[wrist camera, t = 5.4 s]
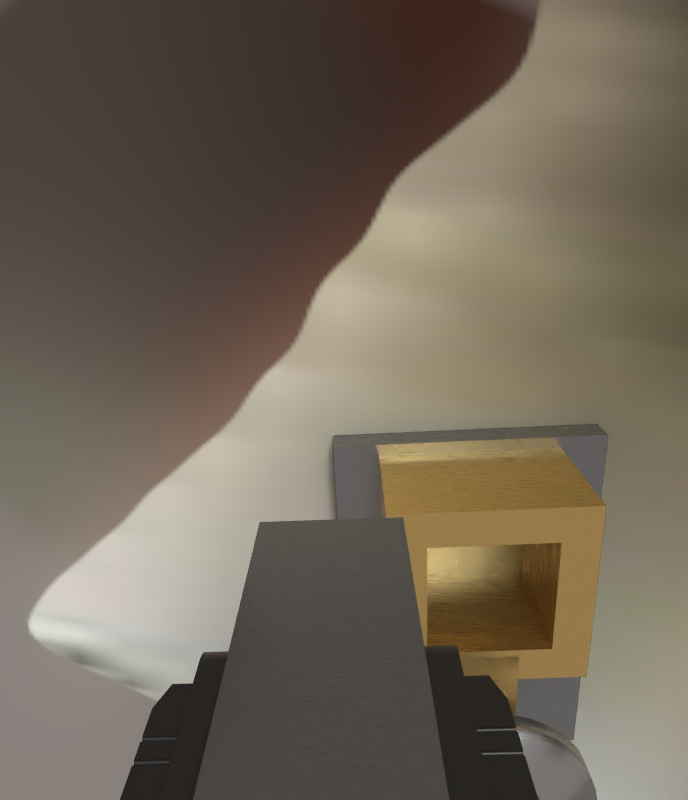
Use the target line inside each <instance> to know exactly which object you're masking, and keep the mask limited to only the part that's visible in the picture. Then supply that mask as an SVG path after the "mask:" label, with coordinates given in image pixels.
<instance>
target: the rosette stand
mask: <svg viewBox="0 0 688 800" xmlns="http://www.w3.org/2000/svg"><path fill="white" fill-rule="evenodd" d="M607 440H608V434H607V433H606V432H605V431H604V430H603V429H602V428H601V427H600V426H599V425H598V424H590V425H567V426H544V427H521V428H499V429H476V430H453V431H430V432H407V433H384V434H361V435H339V436H334V440H333V452H334V468H335V485H336V502H337V518H338V520H340V519H369V518H398V517H403V519H404V525H405V531H406V537H407V544H408V550H409V556H410V562H411V568H412V574H413V580H414V586H415V592H416V599H417V605H418V611H419V617H420V623H421V629H422V635H423V641H424V646H440V645H456V646H457V648H458V651H459V655H460V660H461V664H462V668H463V673H464V676H480V675H489V676H490V677H491V679H492V680H493V681H494V682H495V684H496V685H497V686H498V687H499V688H500V690H501V691H502V692H503V693H504V695H505V696H506V697H507V698H508V701H509V704H510V708H511V711H512V714H513V718H514V721H515V724H516V730H517V732H518V734H519V737H520V741H521V744H522V747H523V753H524V756H525V757H526V760H527V764H528V767H529V770H530V774H531V777H532V780H533V784H534V787H535V790H536V793H537V797H538V800H597V796H596V790H595V787H594V784H593V781H592V779H591V776H590V774H589V771H588V769H587V766H586V764H585V762H584V759H583V757H582V756H581V754H580V752H579V750H578V749H577V748H576V747H575V746H574V744H573V743H572V742H571V741H570V740H573V739H574V731H575V722H576V713H577V704H578V695H579V687H580V678H581V677H586V676H587V667H588V659H589V650H590V642H591V633H592V625H593V616H594V608H595V599H596V591H597V582H598V574H599V565H600V557H601V548H602V540H603V531H604V523H605V514H606V505H605V503H604V502H603V501H602V499H601V493H602V484H603V475H604V466H605V457H606V448H607Z"/></svg>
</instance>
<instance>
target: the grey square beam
mask: <svg viewBox="0 0 688 800" xmlns="http://www.w3.org/2000/svg"><path fill="white" fill-rule="evenodd" d="M193 800H449V795H448V788H447V782H446V776H445V770H444V764H443V758H442V752H441V746H440V739H439V733H438V727H437V721H436V715H435V709H434V703H433V697H432V690H431V684H430V678H429V672H428V666H427V660H426V654H425V648H424V641H423V635H422V629H421V623H420V617H419V611H418V605H417V599H416V592H415V586H414V580H413V574H412V568H411V562H410V556H409V550H408V544H407V537H406V531H405V525H404V519H403V517H398V518H369V519H340V520H311V521H281V522H260V524H259V528H258V532H257V536H256V540H255V544H254V548H253V553H252V557H251V561H250V565H249V569H248V573H247V577H246V582H245V586H244V590H243V594H242V598H241V602H240V606H239V611H238V615H237V619H236V623H235V627H234V631H233V635H232V640H231V644H230V648H229V652H228V656H227V660H226V665H225V669H224V673H223V677H222V681H221V685H220V689H219V694H218V698H217V702H216V706H215V710H214V714H213V718H212V723H211V727H210V731H209V735H208V739H207V743H206V747H205V752H204V756H203V760H202V764H201V768H200V772H199V776H198V781H197V785H196V789H195V793H194V797H193Z"/></svg>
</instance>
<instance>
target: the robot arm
mask: <svg viewBox="0 0 688 800" xmlns="http://www.w3.org/2000/svg"><path fill="white" fill-rule="evenodd" d="M424 648H425V654H426V660H427V666H428V672H429V678H430V684H431V690H432V697H433V703H434V709H435V715H436V721H437V727H438V733H439V739H440V746H441V752H442V758H443V764H444V770H445V776H446V782H447V788H448V795H449V800H538V797H537V793H536V790H535V787H534V784H533V780H532V777H531V774H530V770H529V767H528V764H527V760H526V757H525V756H524V753H523V747H522V744H521V741H520V737H519V734H518V732H517V730H516V724H515V721H514V718H513V714H512V711H511V708H510V704H509V701H508V698H507V697H506V696H505V695H504V693H503V692H502V691H501V690H500V688H499V687H498V686H497V685H496V684H495V682H494V681H493V680H492V679H491V677H490V676H489V675H480V676H464V673H463V668H462V664H461V660H460V655H459V651H458V648H457V646H456V645H440V646H424ZM227 656H228V652H204V653H203V654H202V656H201V658H200V661H199V665H198V668H197V671H196V675H195V678H194V682H193V684H172V685H171V686H170V688H169V689H168V690H167V691H166V693H165V694H164V695H163V696H162V697H161V699H160V700H159V701H158V702H157V703H156V705H155V706H154V707H153V708H152V711H151V714H150V717H149V720H148V723H147V725H146V728H145V731H144V734H143V739H142V742H140V745H139V748H138V751H137V753H136V756H135V759H134V766H132V767H131V770H130V773H129V776H128V778H127V781H126V784H125V787H124V790H123V793H122V795H121V798H120V800H193V797H194V793H195V789H196V785H197V781H198V776H199V772H200V768H201V764H202V760H203V756H204V752H205V747H206V743H207V739H208V735H209V731H210V727H211V723H212V718H213V714H214V710H215V706H216V702H217V698H218V694H219V689H220V685H221V681H222V677H223V673H224V669H225V665H226V660H227Z"/></svg>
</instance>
